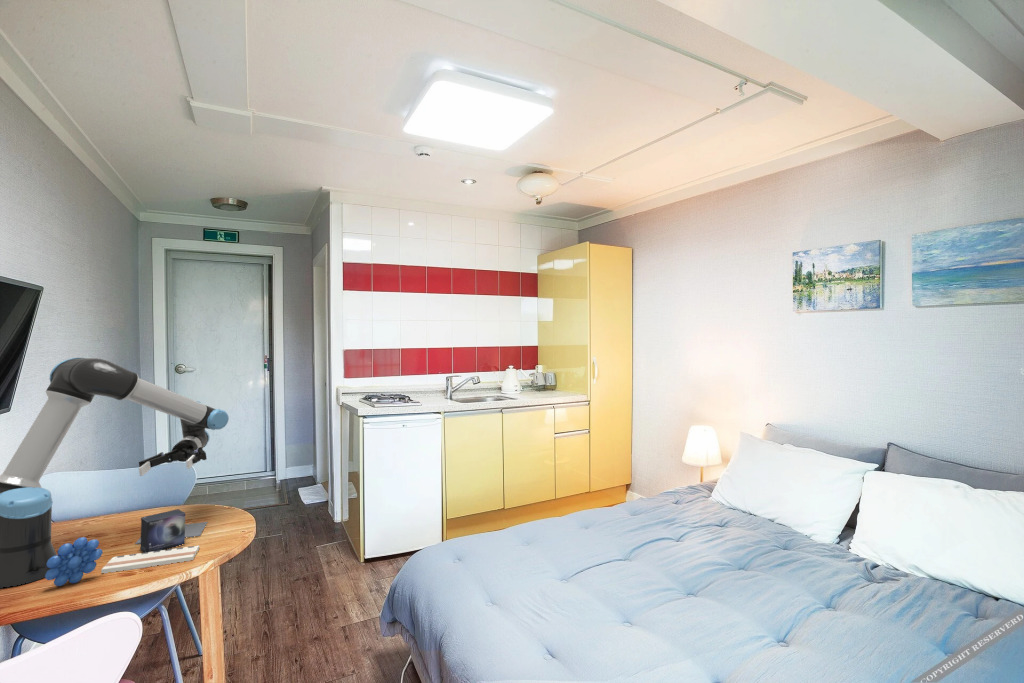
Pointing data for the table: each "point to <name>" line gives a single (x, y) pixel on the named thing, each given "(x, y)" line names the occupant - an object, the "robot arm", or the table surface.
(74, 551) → the blue bumpy cluster
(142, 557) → the board
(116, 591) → the table surface
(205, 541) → the table surface
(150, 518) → the small box
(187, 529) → the mat
